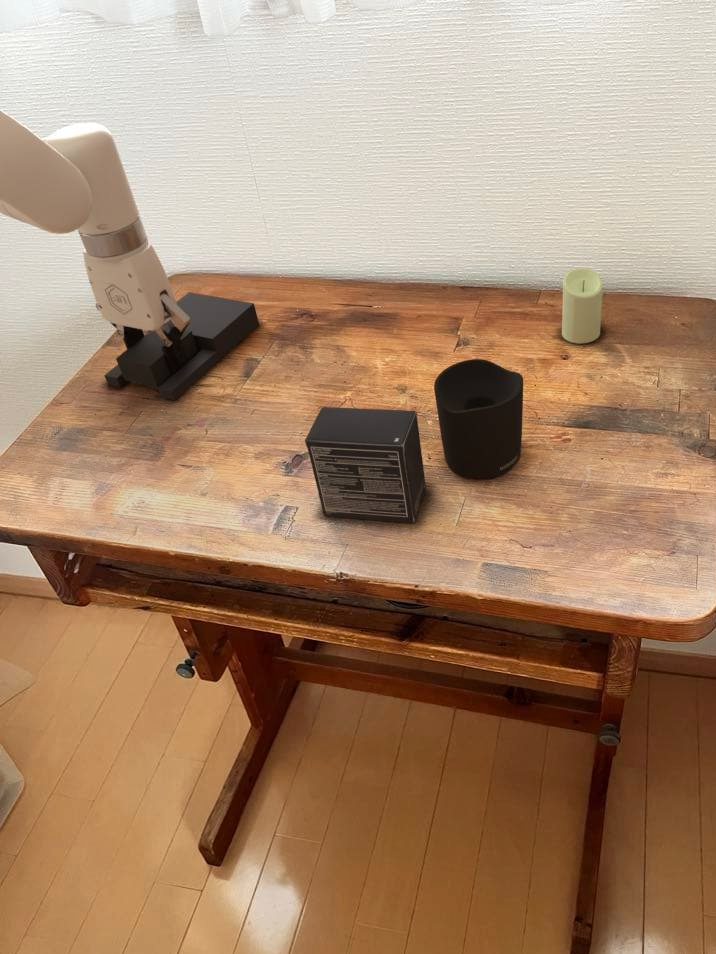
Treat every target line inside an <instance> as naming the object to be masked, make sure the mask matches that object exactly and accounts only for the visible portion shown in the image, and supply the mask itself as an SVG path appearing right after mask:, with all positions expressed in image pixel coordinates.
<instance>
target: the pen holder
mask: <svg viewBox="0 0 716 954" xmlns="http://www.w3.org/2000/svg"><path fill="white" fill-rule="evenodd" d="M433 389H434V396H435V404H436V410H437V411H436V412H437V416H438V417H437V419H438V424H439V430H440V439H441V443H442V450H443V456H444V461H445V463H446V465H447V466H448V468H449V469H450V470H452V471H453V472H454V473H455V474H457V475H459V476H462V477H463V478H467V479H471V480H489V479H494V478H498V477H501V476H503V475H505V474H507V473H508V472H510V471H511V470H512V469H513V468H514V467H515V466H516V465H517V464H518V463H519V461H520V458H521V454H522V453H521V452H522V439H523V413H524V411H523V409H524V407H523V406H524V377H523V375H522V374H521V373H519V372H516V371H512V370H509V369H506V368H504V367H502V366H501V365H499V364H497V363H495V362H493V361H490V360H488V359H482V358H472V359H466V360H462V361H459V362H456V363H453V364H451V365H449V366H448V367H446V368H445V369H443V370H442V371H441V372H440V373H439V374H438V375H437V377H436V378H435V381H434V383H433Z"/></svg>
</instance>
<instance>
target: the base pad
mask: <svg viewBox="0 0 716 954" xmlns="http://www.w3.org/2000/svg"><path fill="white" fill-rule="evenodd" d="M176 303H177V305H178V306H179V307H180V308H181V309H182V310H183V311H184V312H185V313H186V314H187V315H188V316H189V317H190V319H191V322H190V323H189V325H188V326H187V328H186V330H188V331H192V334H193V337H194V340H195V343H196V346H197V349H198V352H199V353H198V354H197V355H195V356H194V357H193V358H192V359H191V360H190V361H188V362H187V363H186V364H185V365H184V366H183V367H182V368H180V369H179V370H178V371H177V372H176V373H175V374H173V375H172V376H171V377H170V378H169V379H168V380H167V381H165V382H164V383H163V384H162V385H161V386H160V387H158V388H157V390H158V392H159V395H160V397H161V398H162V399H167V400H171V401H176V400H177V399H179V398H180V397H181V396H182V395H183V394H184V393H185V392H186V391H187V390H189V388H191V387H192V386H193V385H194V384H195V383H196V382H198V381H199V380H200V379H201V378H202V377H203V376H204V375H205V374H206V373H208V371H210V370H211V369H212V368H213V367H214V366H215V365H216V364H217V363H219V362H220V361H221V360H222V359H223V358H224V357H225V356H227V354H228V353H230V352H231V351H232V350H233V349H234V348H235V347H236V346H237V345H238V344H240V343H241V342H243V340H244V339H245V338H247V337H248V336H249V334H251V333H252V332H253V331H254V330H255V329H256V328H257V327H259V325H260V321H259V318H258V314H257V310H256V307H255V303H254V302H249V301H243V300H237V299H231V298H225V297H219V296H215V295H209V294H203V293H197V292H191V291H189V292H187V293H186V294H185V295H184V296H182V297H181V298H180V299H178V300H176ZM164 326H168V325H167V324H165V325H164ZM168 327H169V326H168ZM148 332H150V331H148ZM103 376H104V379H105V381H106V383H107V385H109V386H113V387H118V388H122V387H123V386H124V385H126V383H128V382H129V381H125V380H124V377H123V375H122V372H121V370H120V368H119V365H118V364H116V365H115V366H114V367H113V368H111V369H110V370H109V371H108V372H106V373H105V374H104V375H103Z"/></svg>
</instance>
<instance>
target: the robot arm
mask: <svg viewBox="0 0 716 954" xmlns="http://www.w3.org/2000/svg"><path fill="white" fill-rule="evenodd" d="M0 214H2V215H4V216H6V217H9V218H11V219H14V220H17V221H19V222H22V223H25V224H27V225H30V226H33V227H34V228H38V229H40V230H42V231H44V232H47V233H51V234H57V235H63V234H64V235H65V234H69V233H73V232H76V231H77V232H78V234H79V237H80V240H81V242H82V244H83V247H84V248H83V249H82V254H83V261H84V266H85V270H86V274H87V277H88V281H89V284H90V287H91V292H92V293H93V296H94V300H95V302H96V303H95V307H96V309H97V310H98V311H99V313H100V314H101V316H102V318H103V319H104V320H105V321H106V322H108V323H110V325H112V326H113V328H115V329H116V334H117V335H118V337H120V338H122V340H123V342H124V345H125V348H126V350H127V349H128V348H130V347H131V346H132V345H134V344H135V343H136V342H137V341H139V340H140V339H141V338H142V337H144V336H145V333H144V331H147V332H149V331H156V333H157V334H158V336H159V337H160V339H161V340H162V342H163V343H164V345H163V346H162V350H163V353H164V355H165V358H166V361H167V363H168V366H169V369H170V371H171V372H176V371H177V370H178V369H179V368H180V367H182V366H183V365H184V364H185V363H186V362H187V360H188V359H187V355H186V353H185V350H184V347H183V344H182V341H181V337H182V336H183V333H184V331H185V330H186V328H187V326H188V325H189V323H190V322H191V319H190V317H189V316H188V315H187V314H186V313H185V312H184V311H183V310H182V309H181V308H180V307H179V306H178V305H177V303H176V302H177V300H176V296H175V294H174V291H173V288H172V285H171V282H170V281H169V278H168V276H167V273H166V270H165V268H164V265H163V264H162V262H161V260H160V258H159V256H158V253H157V252H156V250H155V248H154V246H153V245H152V243H151V242H149V239H148V235H147V233H146V229H145V227H144V224H143V221H142V218H141V215H140V213H139V209H138V206H137V204H136V201H135V198H134V195H133V191H132V189H131V186H130V183H129V180H128V177H127V174H126V171H125V168H124V165H123V162H122V159H121V157H120V153H119V151H118V148H117V145H116V142H115V140H114V137H113V135H112V133H111V131H109V129H108V128H106V127H105V126H104V125H101V124H100V123H93V122H83V123H76V124H71V125H68V126H65V127H62V128H60V129H58V130H57V131H55V132H53V133H52V134H50V135H49V136H47V137H43V138H41V137H40V136H38V135H37V134H36V133H35V132H33V131H32V130H31V129H29V127H27V126H25V125H24V124H22V123H20V121H18V120H16V119H15V118H13V117H12V116H11V115H9V114H7V113H6V112H5V111H3V110H2V109H0ZM165 324H167V325H168V326H169V328H170V329H171V330H170V331H169V333H168V334H167V332H166V331H165V329H164V328H163V326H164V325H165Z"/></svg>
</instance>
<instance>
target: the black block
mask: <svg viewBox="0 0 716 954" xmlns="http://www.w3.org/2000/svg"><path fill="white" fill-rule="evenodd" d="M163 328H164V329H165V331H166V332H167V334H168V333H169V331H170V330H171V329H170V328H169V327H168V326H163ZM181 341H182V344H183V347H184V350H185V353H186V355H187V359H188V360H187V362H188V361H190V360H191V359H192V358H193V357H194V356H195V355H197V354H198V353H199V352H198V349H197V346H196V343H195V340H194V337H193V334H192V331H188V330H185V331H184V333H183V336H182V337H181ZM163 345H164V343H163V342H162V340H161V339H160V337H159V336H158V334H157V333H156V331H150V332H149V331H147V333H146V334H144V337H142V338H141V339H140V340H139V341H137V342H136V343H135V344H134V345H132V346H131V347H130V348H128V349H127V348H126V350H125V351H123V352H122V353H121V354H120V355H118V356H117V357H116V358H115V361H116V362H117V365H119V368H120V370H121V372H122V375H123V377H124V380H125V381H128V382H129V383H134V384H139V385H141V386H146V387H151V388H155V389H158V387H160V386H161V385H162V384H163V383H164V382H165V381H167V380H168V379H169V378H170V377H171V376H172V375H173V374H175V373H176V372H177V371H178V370H179V369H180V368H182V367H183V366H184V365H185V364H186V363H187V362H186V363H185V364H184V365H183V366H182V367H180V368H179V369H178V370H177V371H176V372H171V371H170V369H169V366H168V363H167V361H166V358H165V355H164V353H163V350H162V346H163Z"/></svg>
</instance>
